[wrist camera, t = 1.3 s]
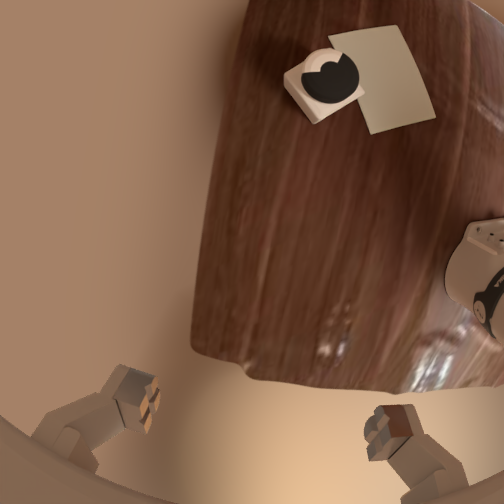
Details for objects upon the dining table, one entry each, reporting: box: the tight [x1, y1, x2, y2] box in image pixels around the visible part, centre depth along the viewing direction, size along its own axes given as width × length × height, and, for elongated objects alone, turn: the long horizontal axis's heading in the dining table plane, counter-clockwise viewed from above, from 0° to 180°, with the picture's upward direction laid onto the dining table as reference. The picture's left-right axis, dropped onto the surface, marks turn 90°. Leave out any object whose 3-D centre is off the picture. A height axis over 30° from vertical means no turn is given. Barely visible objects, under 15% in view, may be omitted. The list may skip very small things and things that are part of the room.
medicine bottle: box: [284, 48, 365, 124], centre depth 29 cm, size 7×7×12 cm
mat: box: [328, 25, 436, 135], centre depth 31 cm, size 12×16×1 cm
